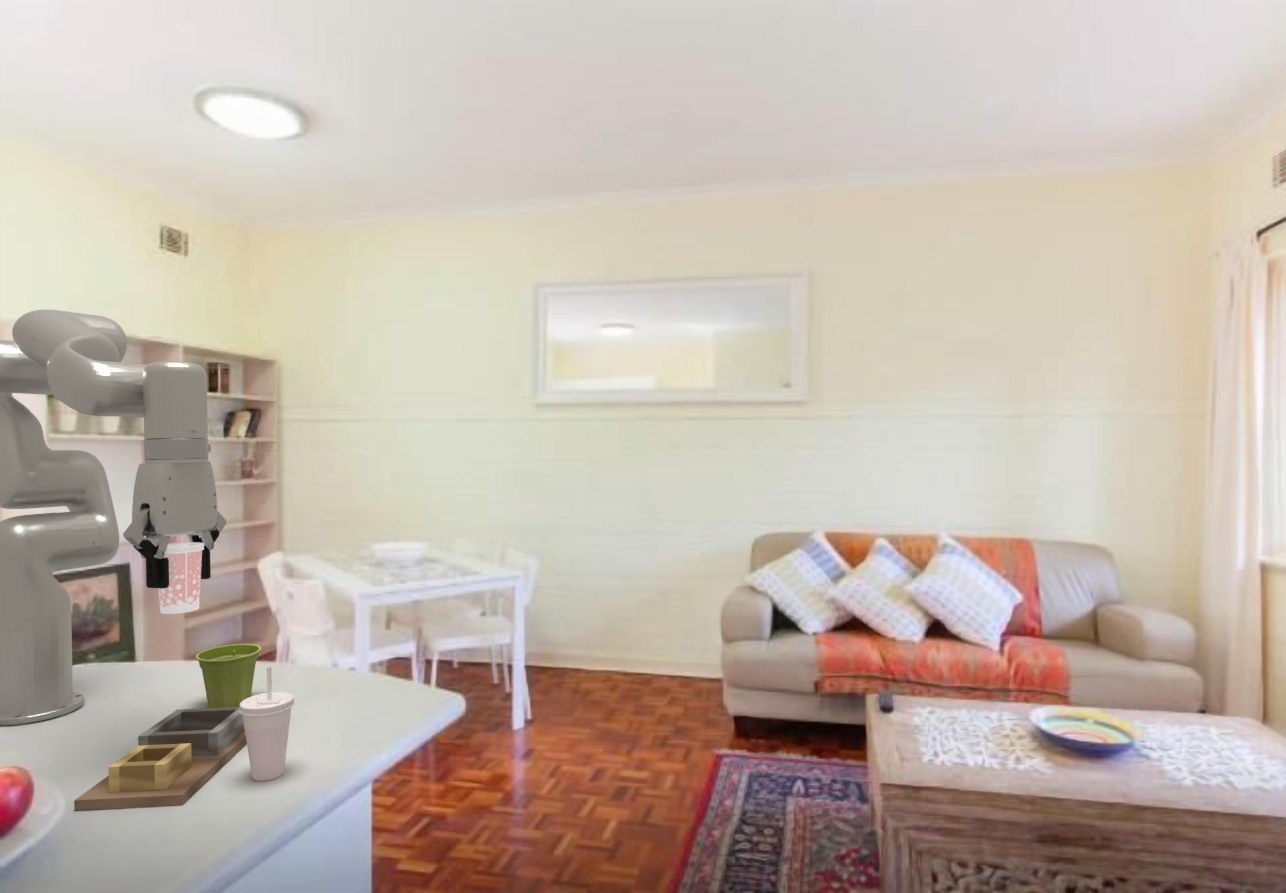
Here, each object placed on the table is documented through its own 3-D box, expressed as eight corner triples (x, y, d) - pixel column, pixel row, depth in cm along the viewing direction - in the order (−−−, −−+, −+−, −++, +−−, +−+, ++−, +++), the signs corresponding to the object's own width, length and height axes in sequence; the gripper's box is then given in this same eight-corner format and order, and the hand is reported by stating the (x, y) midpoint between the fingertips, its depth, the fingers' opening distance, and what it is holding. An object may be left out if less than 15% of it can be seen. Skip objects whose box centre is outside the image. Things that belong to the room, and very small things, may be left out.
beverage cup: (197, 603, 109) (195, 506, 109) (212, 609, 105) (210, 508, 105) (147, 610, 105) (145, 509, 104) (161, 617, 100) (159, 511, 100)
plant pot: (266, 706, 123) (265, 653, 123) (198, 718, 118) (198, 663, 118) (257, 690, 131) (256, 640, 131) (194, 702, 126) (193, 649, 126)
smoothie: (258, 790, 94) (257, 676, 93) (229, 778, 97) (227, 669, 97) (305, 770, 99) (304, 663, 99) (276, 760, 102) (275, 656, 102)
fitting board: (171, 737, 111) (171, 708, 111) (257, 733, 112) (257, 704, 112) (74, 810, 89) (73, 774, 89) (182, 804, 90) (182, 769, 90)
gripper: (206, 451, 114) (208, 571, 114) (95, 454, 97) (98, 594, 97) (247, 451, 112) (249, 573, 112) (141, 453, 95) (144, 596, 95)
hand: (179, 581), depth 105 cm, fingers closed on beverage cup, 6 cm apart
